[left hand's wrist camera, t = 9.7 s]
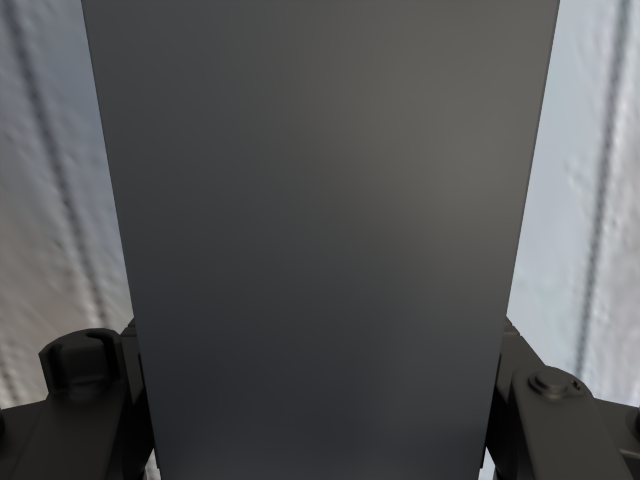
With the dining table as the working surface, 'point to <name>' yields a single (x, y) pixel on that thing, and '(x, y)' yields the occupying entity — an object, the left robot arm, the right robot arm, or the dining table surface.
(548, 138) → the dining table surface
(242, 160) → the post
